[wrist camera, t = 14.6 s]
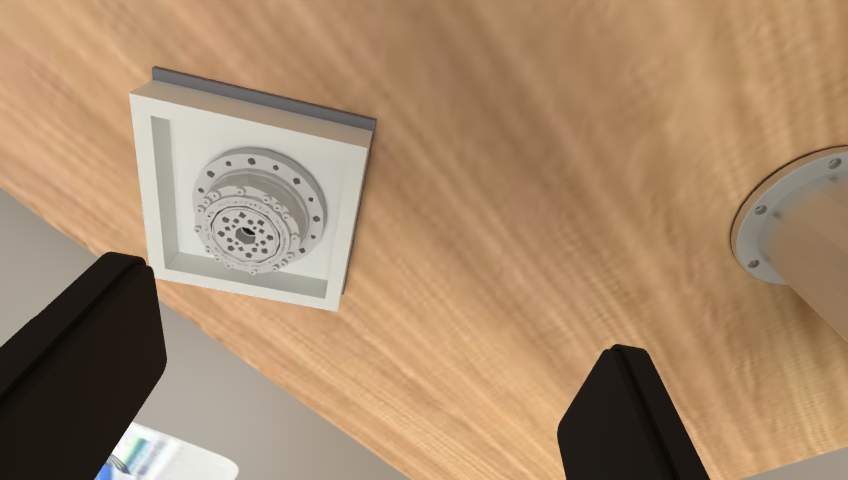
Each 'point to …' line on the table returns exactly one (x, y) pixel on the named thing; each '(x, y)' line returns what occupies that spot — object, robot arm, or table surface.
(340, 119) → the grey flat plate
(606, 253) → the table surface
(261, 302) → the table surface
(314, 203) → the mechanical component
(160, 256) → the tray
